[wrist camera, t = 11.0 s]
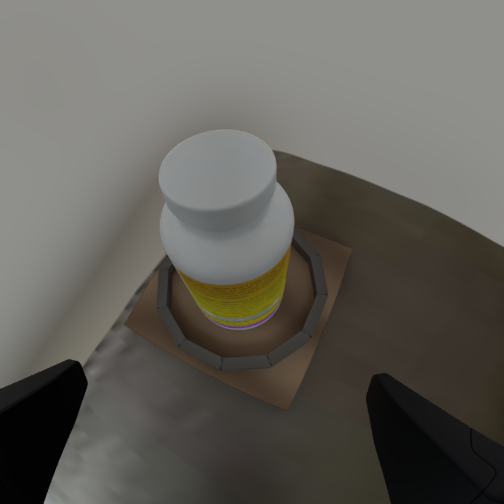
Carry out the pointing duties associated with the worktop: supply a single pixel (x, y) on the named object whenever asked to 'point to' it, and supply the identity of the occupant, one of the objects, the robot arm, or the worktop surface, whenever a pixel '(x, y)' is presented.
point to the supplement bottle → (227, 225)
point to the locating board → (255, 339)
